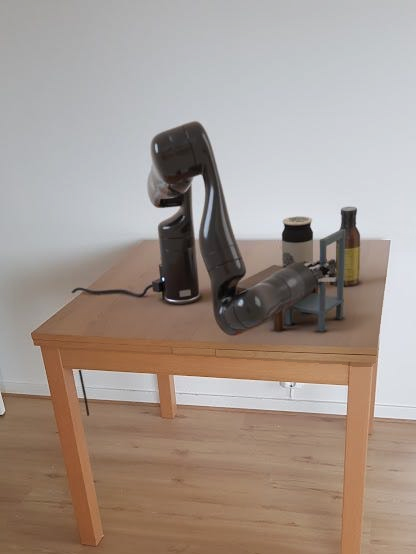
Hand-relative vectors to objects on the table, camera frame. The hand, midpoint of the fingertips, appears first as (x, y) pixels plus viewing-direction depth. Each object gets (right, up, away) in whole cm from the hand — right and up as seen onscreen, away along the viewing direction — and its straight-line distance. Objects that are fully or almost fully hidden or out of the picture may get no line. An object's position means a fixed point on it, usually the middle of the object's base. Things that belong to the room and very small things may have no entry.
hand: (329, 263), depth 151 cm
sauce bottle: (+11, +2, +33) cm, 35 cm away
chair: (-2, -11, +11) cm, 16 cm away
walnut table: (-10, -9, +17) cm, 21 cm away
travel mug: (-3, +1, +32) cm, 33 cm away
